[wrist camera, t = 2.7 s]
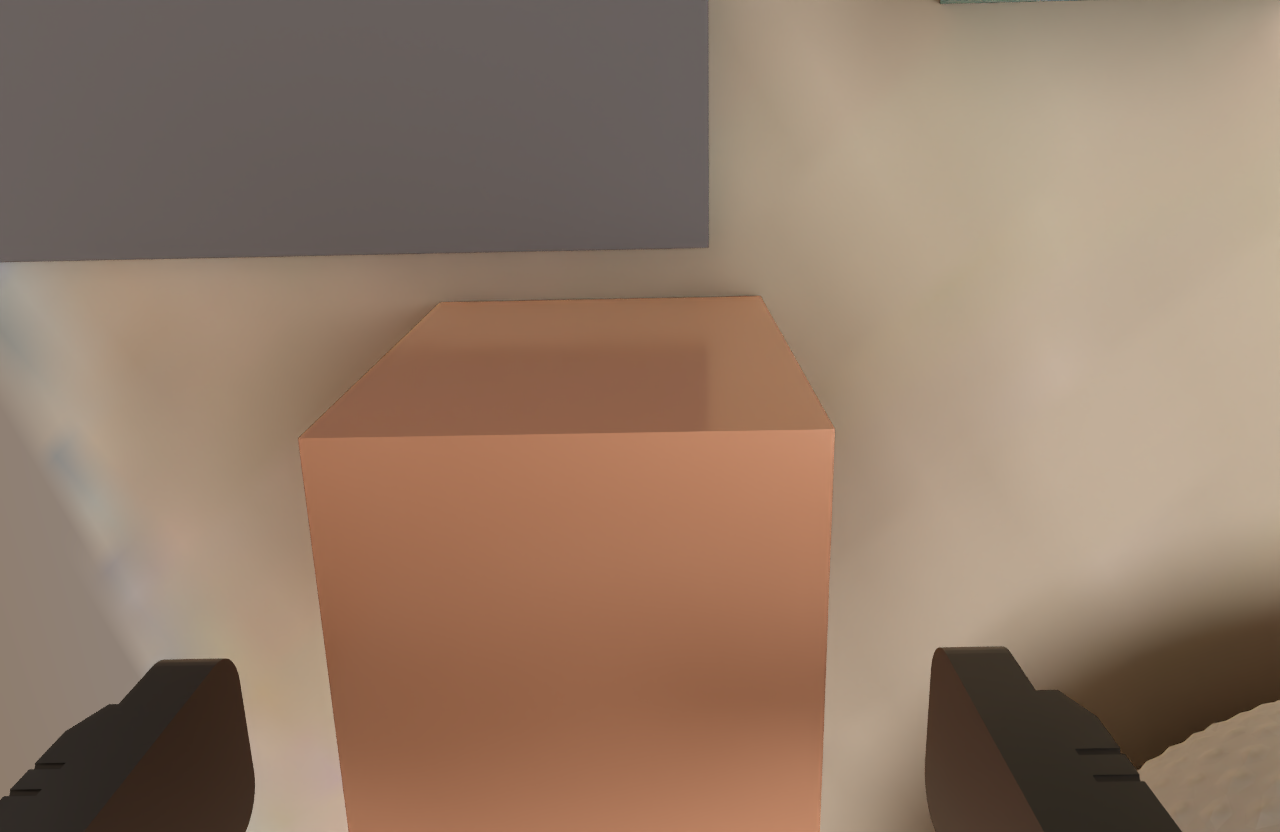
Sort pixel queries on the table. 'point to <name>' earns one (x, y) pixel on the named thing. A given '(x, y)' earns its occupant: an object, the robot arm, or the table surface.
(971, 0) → the seafoam square box
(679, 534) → the salmon pink cube
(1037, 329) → the table surface
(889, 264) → the table surface
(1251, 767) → the cereal bowl
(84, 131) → the charcoal mat
